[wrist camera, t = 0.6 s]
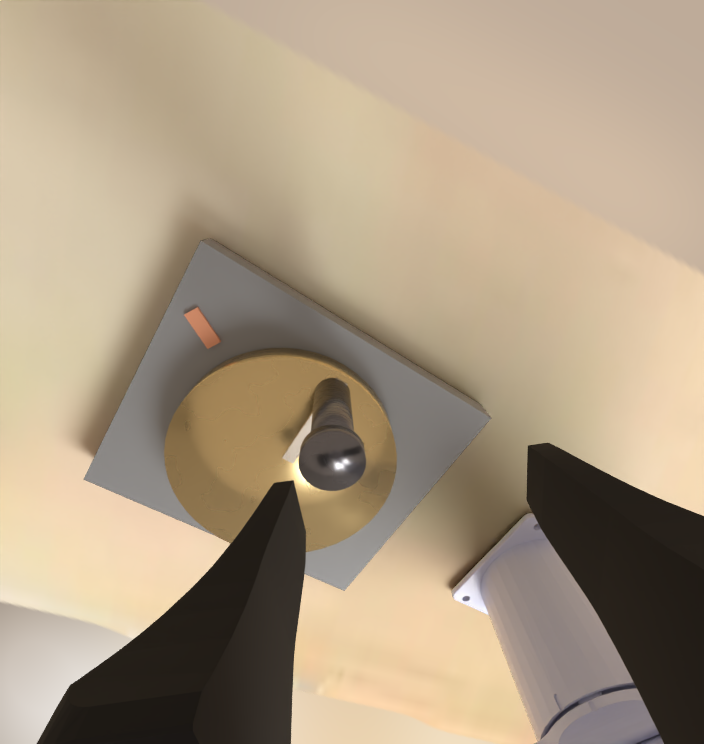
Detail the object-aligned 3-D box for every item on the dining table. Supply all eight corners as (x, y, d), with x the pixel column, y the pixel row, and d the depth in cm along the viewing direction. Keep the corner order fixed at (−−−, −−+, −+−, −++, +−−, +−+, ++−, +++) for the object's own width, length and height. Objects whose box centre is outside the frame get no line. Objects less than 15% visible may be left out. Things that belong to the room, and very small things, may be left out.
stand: (481, 404, 22) (492, 419, 21) (343, 570, 26) (344, 593, 25) (210, 238, 18) (199, 240, 17) (99, 462, 22) (81, 481, 21)
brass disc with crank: (322, 560, 24) (318, 687, 17) (140, 480, 21) (59, 595, 15) (436, 416, 20) (482, 508, 14) (239, 300, 18) (188, 351, 12)
